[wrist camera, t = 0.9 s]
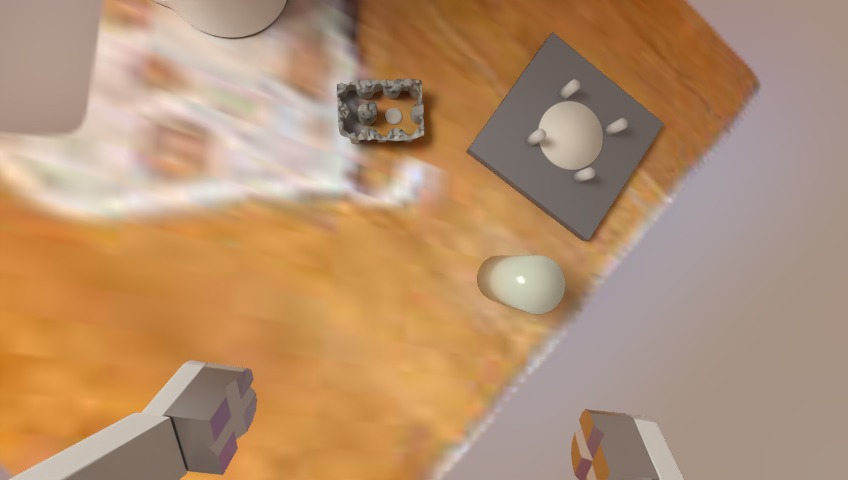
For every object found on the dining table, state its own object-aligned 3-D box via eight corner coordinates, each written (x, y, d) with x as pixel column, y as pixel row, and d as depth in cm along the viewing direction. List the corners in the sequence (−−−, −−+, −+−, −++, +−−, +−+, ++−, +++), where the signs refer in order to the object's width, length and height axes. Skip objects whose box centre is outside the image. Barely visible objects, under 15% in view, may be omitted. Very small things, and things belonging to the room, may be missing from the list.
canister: (472, 262, 53) (503, 263, 42) (514, 250, 54) (557, 249, 43) (483, 306, 53) (518, 320, 42) (525, 294, 54) (571, 305, 43)
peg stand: (466, 151, 54) (475, 142, 49) (547, 38, 56) (563, 19, 52) (582, 240, 56) (601, 239, 51) (656, 127, 58) (680, 116, 54)
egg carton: (420, 91, 54) (425, 77, 50) (421, 148, 53) (426, 139, 49) (337, 86, 52) (336, 72, 48) (337, 145, 52) (336, 136, 48)
